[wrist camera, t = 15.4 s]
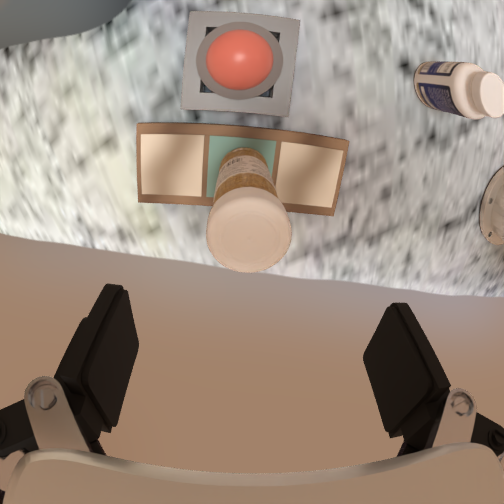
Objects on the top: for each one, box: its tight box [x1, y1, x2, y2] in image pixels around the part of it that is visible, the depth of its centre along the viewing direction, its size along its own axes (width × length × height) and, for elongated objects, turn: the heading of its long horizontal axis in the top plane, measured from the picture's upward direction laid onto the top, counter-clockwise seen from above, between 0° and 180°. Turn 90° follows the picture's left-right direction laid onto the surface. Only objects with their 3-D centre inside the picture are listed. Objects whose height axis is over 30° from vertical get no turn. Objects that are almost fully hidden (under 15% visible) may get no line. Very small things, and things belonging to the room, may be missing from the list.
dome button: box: [196, 22, 283, 100], centre depth 19 cm, size 7×7×6 cm
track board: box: [136, 123, 349, 216], centre depth 27 cm, size 20×8×1 cm, turn 84°
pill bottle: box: [414, 62, 504, 119], centre depth 19 cm, size 5×5×10 cm
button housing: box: [181, 11, 300, 117], centre depth 21 cm, size 9×9×3 cm
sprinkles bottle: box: [206, 148, 292, 273], centre depth 21 cm, size 5×5×14 cm
